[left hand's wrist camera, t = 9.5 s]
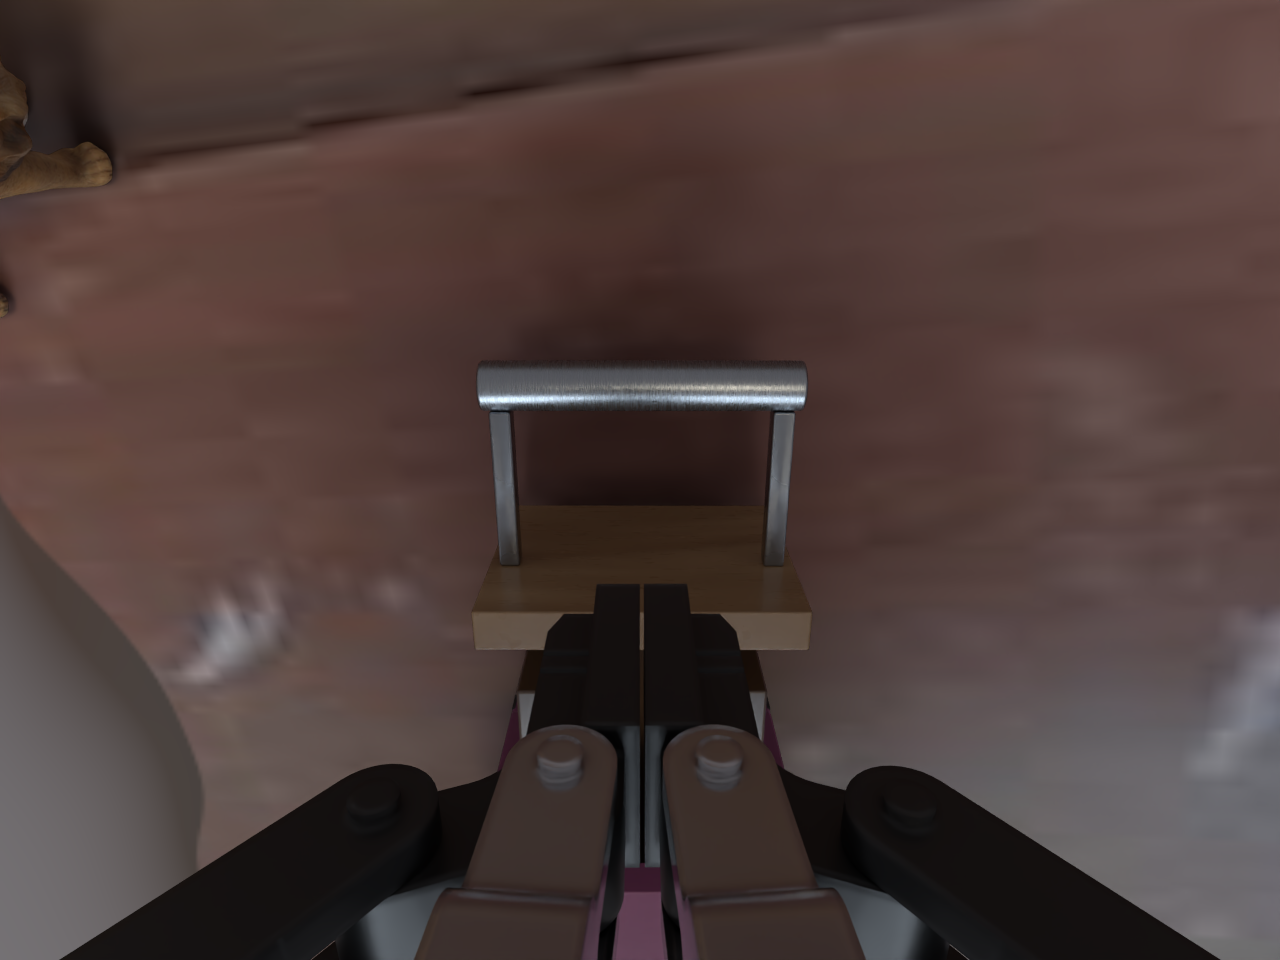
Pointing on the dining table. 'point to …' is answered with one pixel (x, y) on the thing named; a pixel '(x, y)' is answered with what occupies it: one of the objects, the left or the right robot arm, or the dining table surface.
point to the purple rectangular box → (640, 875)
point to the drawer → (641, 518)
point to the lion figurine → (39, 155)
